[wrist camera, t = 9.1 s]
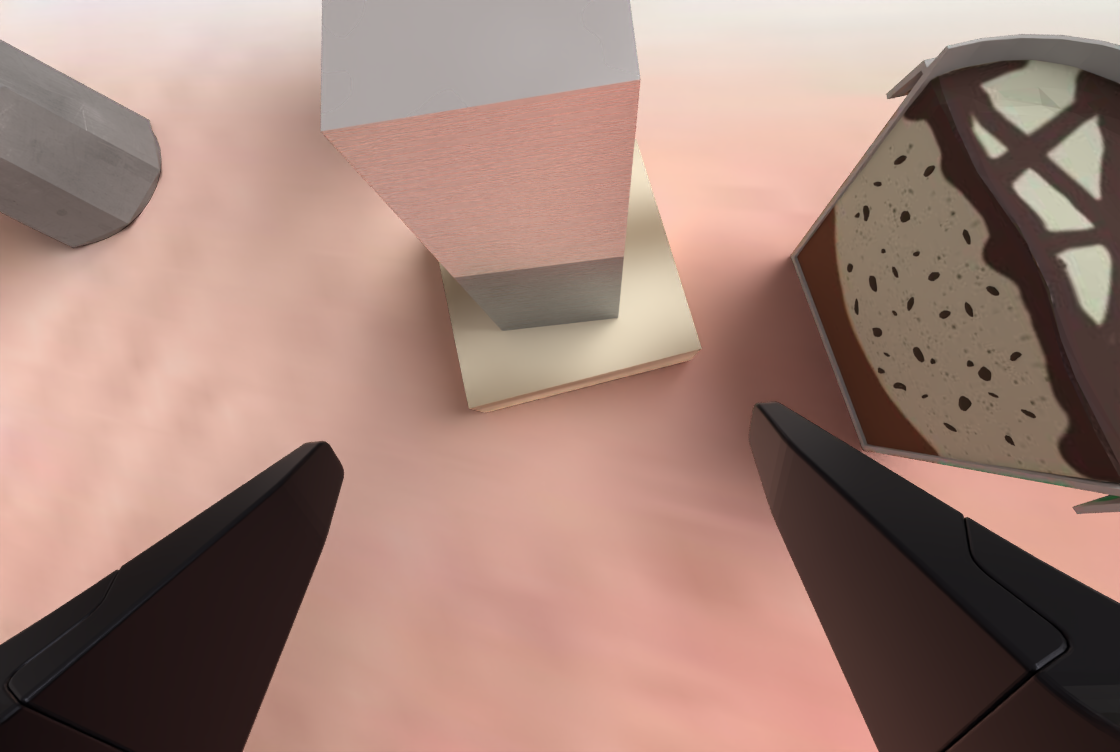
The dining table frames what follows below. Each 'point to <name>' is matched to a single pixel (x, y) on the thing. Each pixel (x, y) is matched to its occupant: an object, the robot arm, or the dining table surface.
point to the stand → (582, 325)
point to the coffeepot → (70, 154)
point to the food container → (984, 266)
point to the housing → (495, 140)
